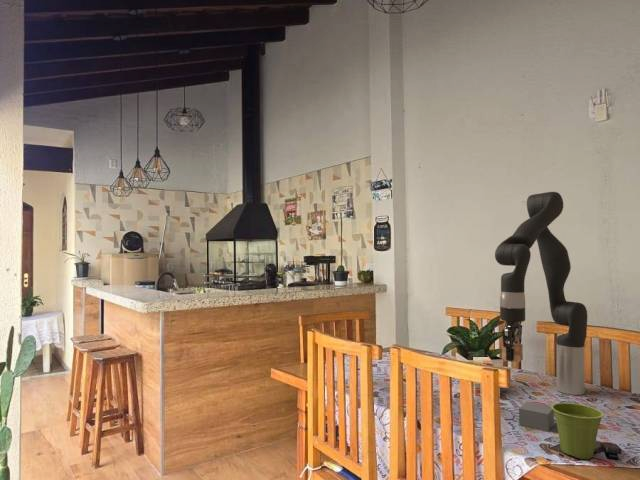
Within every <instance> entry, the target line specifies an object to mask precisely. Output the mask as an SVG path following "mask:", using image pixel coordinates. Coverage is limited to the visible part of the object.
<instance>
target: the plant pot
mask: <svg viewBox="0 0 640 480" xmlns="http://www.w3.org/2000/svg"><path fill="white" fill-rule="evenodd" d="M550 406H551V408H552V409H553V410H554V419H555V421H556V427H557V432H558V433H557V434H558V440H559V445H560V450H562V451H563V452H565V453H567V454H569V455H572V456H571V457H573V456H575V457H577V458H580V459H579V460H590V459H592V458H593V457H594V453H595V448H596V442H597V437H598V430H599V427H600V425H601V421H602V420H601V419H602V418H604V413H603V412H602V411H601V410H599V409H597V408H595V407H592V406H588V405H585V404H580V403H574V402H573V403H571V402H558V403H557V402H556V403H554V404H551V405H550ZM562 451H561V452H562ZM563 452H562V453H563ZM575 457H574V458H575ZM577 458H576V459H577Z"/></svg>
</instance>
